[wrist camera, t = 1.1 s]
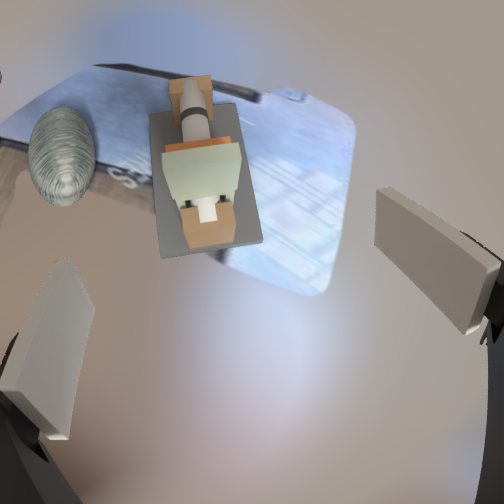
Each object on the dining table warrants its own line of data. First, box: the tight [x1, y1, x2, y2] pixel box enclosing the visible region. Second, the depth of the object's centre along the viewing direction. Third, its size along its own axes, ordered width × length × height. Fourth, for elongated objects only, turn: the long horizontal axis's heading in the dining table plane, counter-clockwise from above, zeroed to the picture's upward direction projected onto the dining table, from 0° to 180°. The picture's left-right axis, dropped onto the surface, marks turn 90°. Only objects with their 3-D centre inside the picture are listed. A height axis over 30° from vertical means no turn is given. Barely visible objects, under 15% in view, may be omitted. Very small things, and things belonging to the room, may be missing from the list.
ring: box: [165, 136, 231, 152], centre depth 33 cm, size 6×1×6 cm, turn 101°
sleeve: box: [162, 142, 242, 218], centre depth 29 cm, size 6×4×12 cm, turn 101°
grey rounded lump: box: [28, 107, 96, 206], centre depth 35 cm, size 14×10×10 cm
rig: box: [149, 75, 263, 259], centre depth 36 cm, size 12×20×9 cm, turn 11°
